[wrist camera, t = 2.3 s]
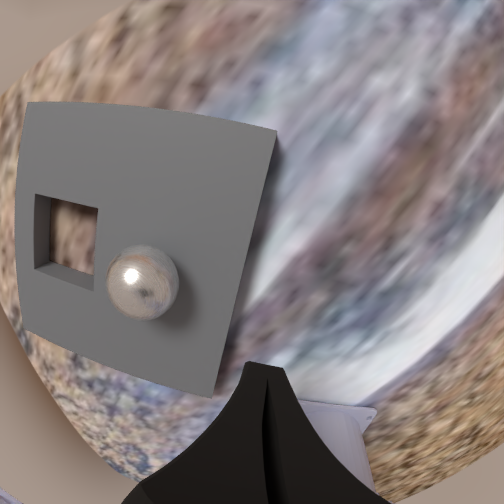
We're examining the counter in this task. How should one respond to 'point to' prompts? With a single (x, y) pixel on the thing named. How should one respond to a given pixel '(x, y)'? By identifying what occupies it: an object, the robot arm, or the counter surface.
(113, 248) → the hole board
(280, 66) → the counter surface
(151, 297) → the steel ball
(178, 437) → the counter surface
